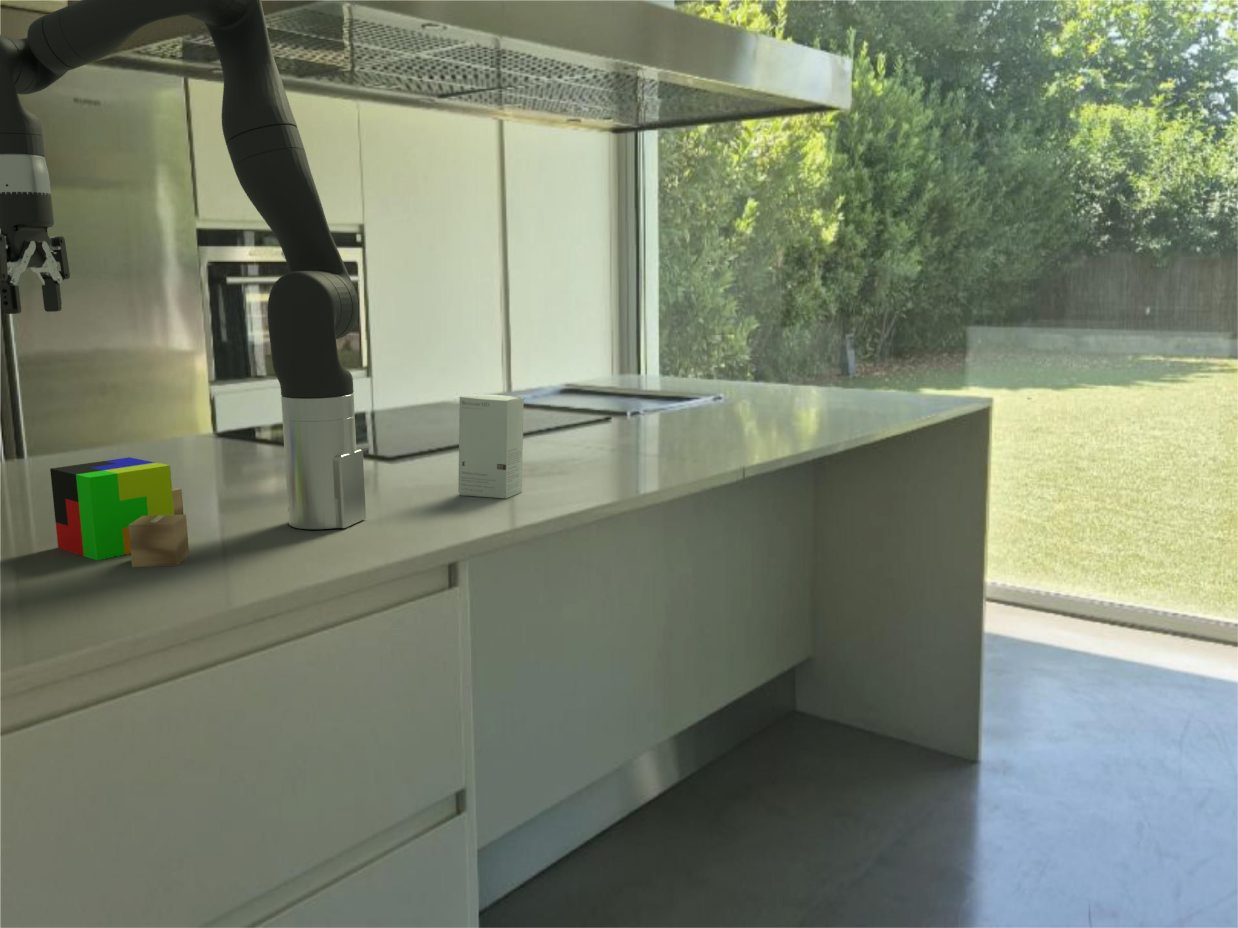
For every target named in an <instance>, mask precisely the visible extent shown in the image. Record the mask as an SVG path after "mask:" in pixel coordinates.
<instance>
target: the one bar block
mask: <svg viewBox="0 0 1238 928" xmlns="http://www.w3.org/2000/svg"><path fill="white" fill-rule="evenodd" d="M187 525H188V523H187V514H184V515H151V516H142V517H140V518H139V519H137V520H136V521H134V522H133V523H131V524H130V525H128V527H129V539H130V550H131V554H130V559H131V561H130V562H131V567H132V568H140V567H141V568H142V567H144V568H146V567H147V568H149V567H172V566H174V567H175V566H178V565H179V564H181V562H182V561H184V560H185V559H186V558H187V557H189V555H190V550H189V537H188V535H189V534H188V526H187ZM184 558H185V559H184Z"/></svg>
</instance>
